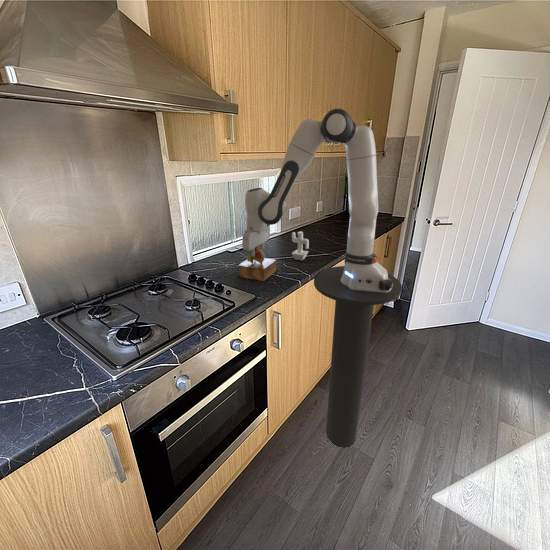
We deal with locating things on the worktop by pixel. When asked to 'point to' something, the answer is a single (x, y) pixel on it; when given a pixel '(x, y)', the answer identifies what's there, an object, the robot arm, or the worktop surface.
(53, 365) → the worktop surface
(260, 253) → the bird rattle
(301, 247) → the figurine
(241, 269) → the wooden block
